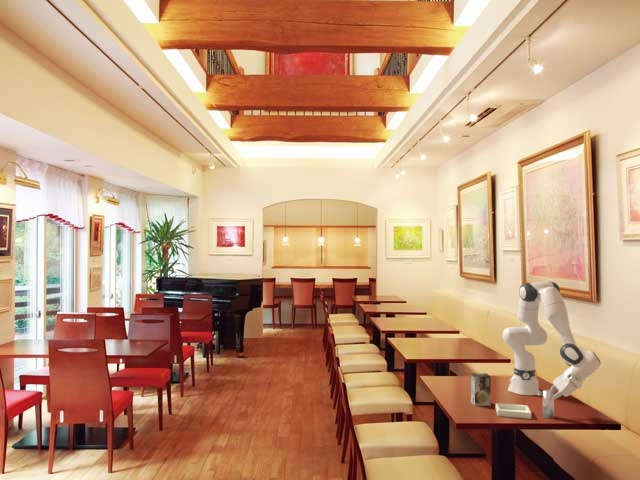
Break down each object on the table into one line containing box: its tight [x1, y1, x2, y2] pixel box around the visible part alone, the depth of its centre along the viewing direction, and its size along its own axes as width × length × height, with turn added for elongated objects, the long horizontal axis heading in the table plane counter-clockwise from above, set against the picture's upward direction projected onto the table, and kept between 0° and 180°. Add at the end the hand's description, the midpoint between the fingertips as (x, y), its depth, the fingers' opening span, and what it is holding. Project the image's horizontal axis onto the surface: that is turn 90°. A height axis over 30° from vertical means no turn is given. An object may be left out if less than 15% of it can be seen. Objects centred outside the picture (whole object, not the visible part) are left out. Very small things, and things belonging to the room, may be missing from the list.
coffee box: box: [470, 372, 492, 407], centre depth 278 cm, size 9×6×16 cm
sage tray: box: [494, 402, 532, 420], centre depth 262 cm, size 13×16×3 cm
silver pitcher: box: [535, 389, 555, 420], centre depth 258 cm, size 5×8×13 cm, turn 76°
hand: (551, 395), depth 257 cm, fingers open, 8 cm apart
